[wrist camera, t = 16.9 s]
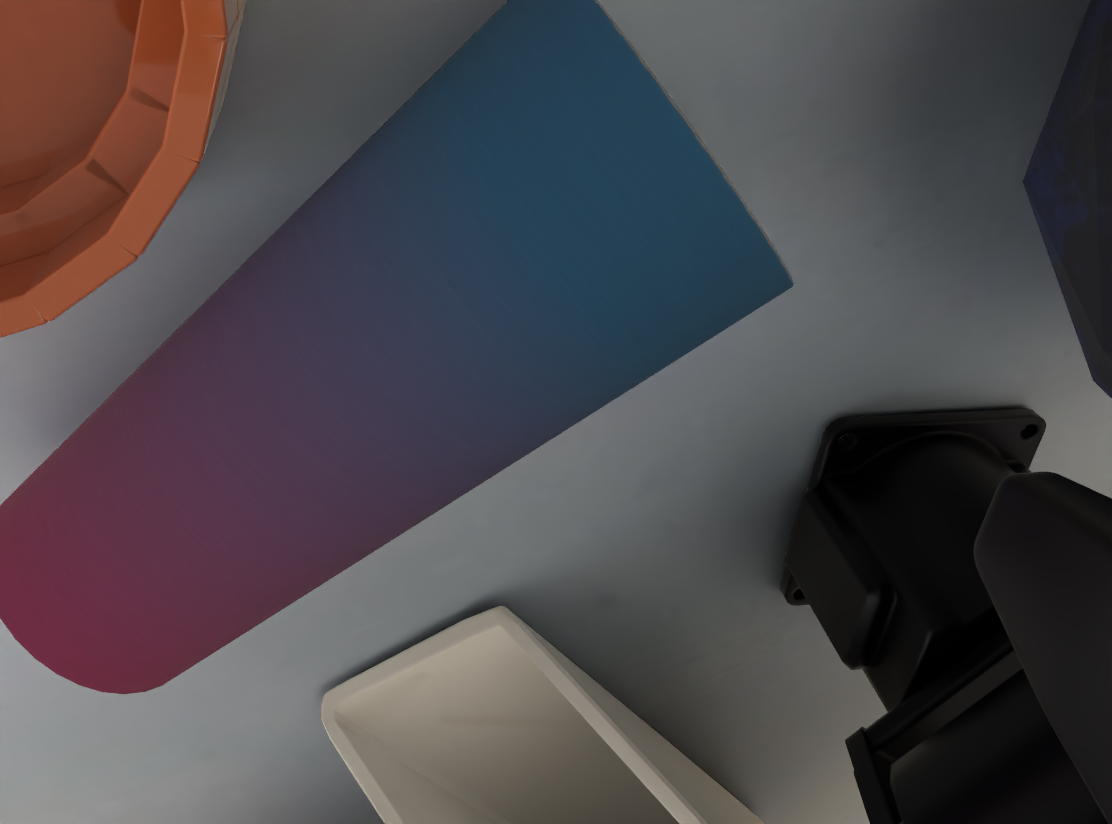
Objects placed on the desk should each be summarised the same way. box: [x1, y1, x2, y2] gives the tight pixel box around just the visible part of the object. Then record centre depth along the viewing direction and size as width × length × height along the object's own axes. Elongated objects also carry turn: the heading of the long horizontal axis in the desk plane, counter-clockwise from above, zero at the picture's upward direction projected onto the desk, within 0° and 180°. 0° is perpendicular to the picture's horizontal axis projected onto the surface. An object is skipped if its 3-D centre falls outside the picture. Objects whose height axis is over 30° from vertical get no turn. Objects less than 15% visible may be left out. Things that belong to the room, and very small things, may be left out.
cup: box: [0, 0, 794, 694], centre depth 18 cm, size 7×7×15 cm
